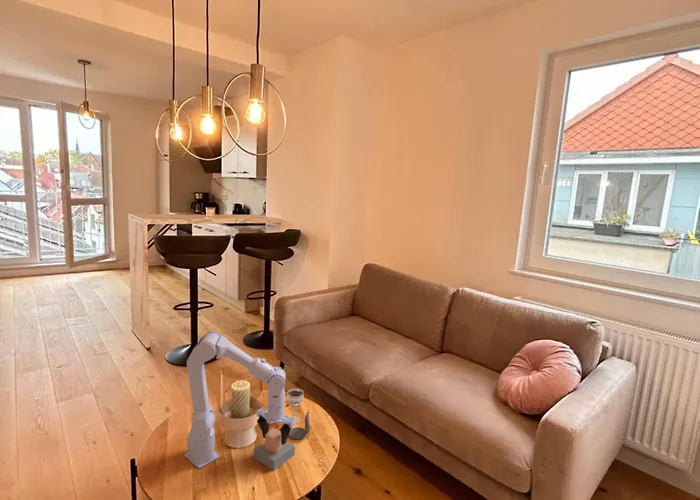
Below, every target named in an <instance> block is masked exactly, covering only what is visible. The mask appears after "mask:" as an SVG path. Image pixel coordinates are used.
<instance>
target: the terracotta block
mask: <svg viewBox="0 0 700 500" xmlns="http://www.w3.org/2000/svg"><path fill="white" fill-rule="evenodd" d="M264 441H265V450H268V451H270V452H273V453H277V452H278V451H279V449H280V448H281V447H282V446H283V445H282V444H281V432H280V429H277V428H273V427H272V428H271V429H269V432H268V433H267V434H266V435H265V438H264Z"/></svg>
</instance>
